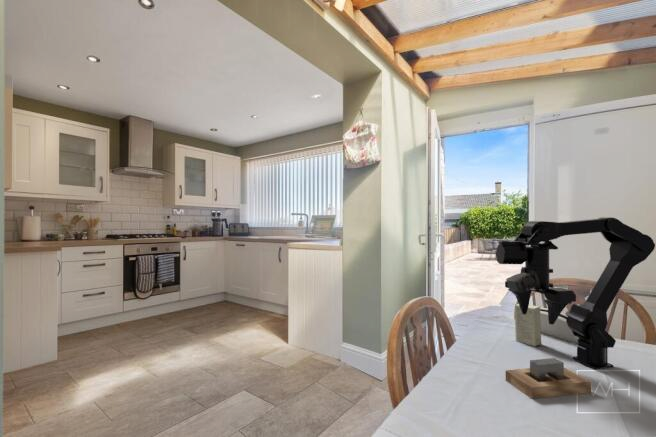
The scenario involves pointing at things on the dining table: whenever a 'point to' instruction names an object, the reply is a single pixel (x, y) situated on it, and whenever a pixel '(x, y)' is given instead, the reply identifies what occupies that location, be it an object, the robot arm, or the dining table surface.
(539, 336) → the skincare box
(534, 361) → the clip
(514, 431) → the dining table surface
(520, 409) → the dining table surface
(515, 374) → the two-slot wooden tray
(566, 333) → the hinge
